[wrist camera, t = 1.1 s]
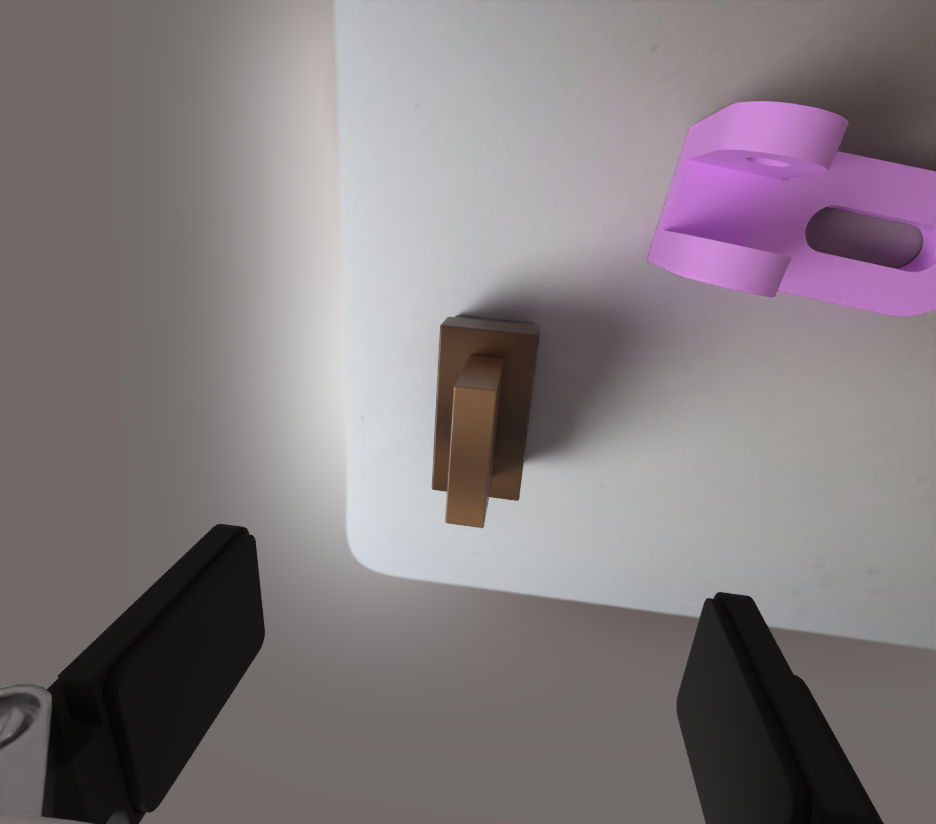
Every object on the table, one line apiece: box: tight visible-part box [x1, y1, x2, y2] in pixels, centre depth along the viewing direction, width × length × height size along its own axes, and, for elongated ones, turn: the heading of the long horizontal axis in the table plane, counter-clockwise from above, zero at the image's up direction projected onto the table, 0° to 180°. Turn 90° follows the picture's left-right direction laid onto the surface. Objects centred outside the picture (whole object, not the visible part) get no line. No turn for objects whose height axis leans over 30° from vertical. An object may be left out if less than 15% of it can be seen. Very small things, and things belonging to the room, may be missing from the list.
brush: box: [432, 315, 539, 528], centre depth 24 cm, size 8×4×8 cm, turn 176°
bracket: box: [647, 101, 936, 317], centre depth 20 cm, size 13×6×7 cm, turn 78°
